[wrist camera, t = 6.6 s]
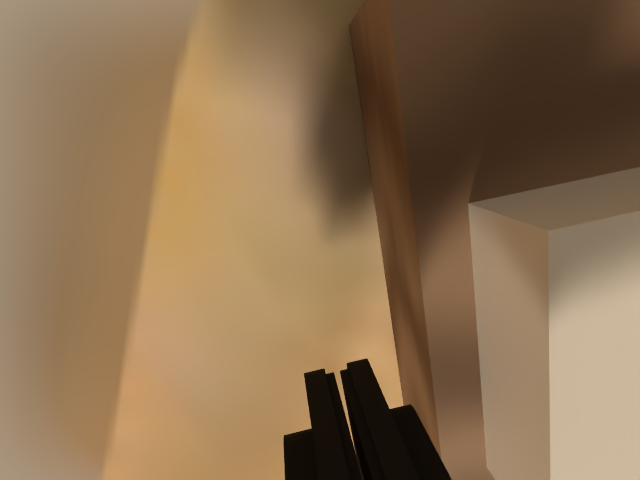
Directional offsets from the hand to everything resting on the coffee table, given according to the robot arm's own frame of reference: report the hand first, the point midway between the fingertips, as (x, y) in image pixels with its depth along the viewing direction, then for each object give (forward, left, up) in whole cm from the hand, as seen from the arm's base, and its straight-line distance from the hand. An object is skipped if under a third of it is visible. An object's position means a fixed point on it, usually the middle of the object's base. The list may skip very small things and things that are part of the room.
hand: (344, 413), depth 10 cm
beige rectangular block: (0, +7, 0) cm, 7 cm away
